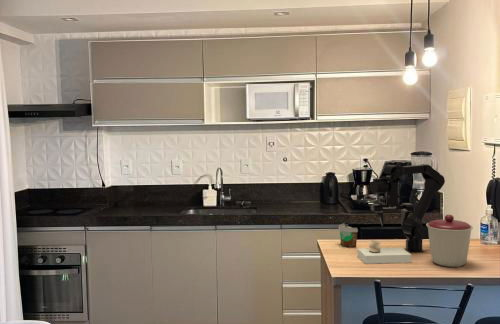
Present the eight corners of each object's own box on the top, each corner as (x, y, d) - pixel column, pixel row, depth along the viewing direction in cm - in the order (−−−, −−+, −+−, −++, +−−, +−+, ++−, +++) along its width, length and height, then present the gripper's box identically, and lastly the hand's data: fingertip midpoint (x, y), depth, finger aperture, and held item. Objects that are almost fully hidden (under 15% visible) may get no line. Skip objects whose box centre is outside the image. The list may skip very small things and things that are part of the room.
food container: (333, 243, 229) (333, 224, 228) (344, 242, 231) (344, 223, 230) (347, 249, 217) (347, 229, 217) (357, 248, 219) (357, 227, 219)
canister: (444, 271, 180) (444, 220, 179) (417, 259, 198) (417, 212, 196) (482, 267, 184) (483, 217, 183) (452, 256, 202) (453, 210, 201)
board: (401, 255, 206) (401, 247, 205) (411, 262, 194) (411, 254, 193) (357, 256, 205) (357, 248, 205) (365, 263, 193) (365, 255, 193)
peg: (378, 255, 202) (378, 240, 201) (381, 258, 197) (381, 242, 196) (367, 256, 202) (367, 240, 201) (371, 258, 197) (371, 243, 196)
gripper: (405, 189, 215) (405, 221, 216) (367, 190, 214) (367, 222, 216) (415, 192, 204) (414, 226, 205) (374, 193, 203) (374, 227, 204)
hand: (392, 225), depth 208 cm, fingers open, 9 cm apart
